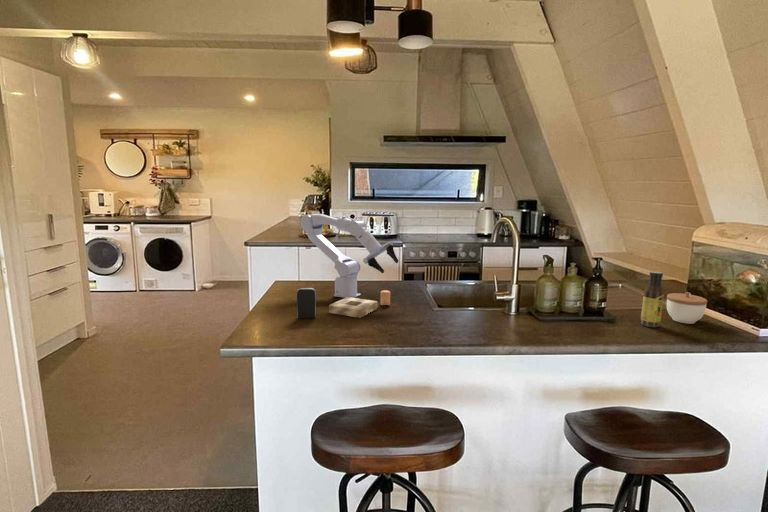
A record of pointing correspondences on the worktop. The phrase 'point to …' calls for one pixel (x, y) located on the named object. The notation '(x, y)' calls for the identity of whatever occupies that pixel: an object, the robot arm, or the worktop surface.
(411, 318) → the worktop surface
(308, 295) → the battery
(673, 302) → the lidded bowl
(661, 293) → the sauce bottle
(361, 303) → the socket block
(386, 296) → the peg
